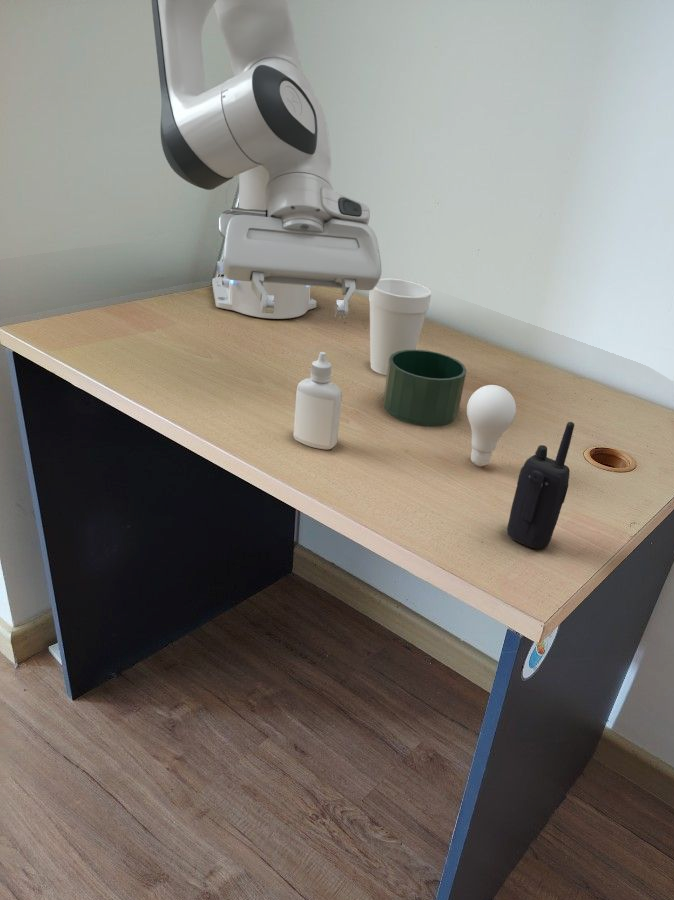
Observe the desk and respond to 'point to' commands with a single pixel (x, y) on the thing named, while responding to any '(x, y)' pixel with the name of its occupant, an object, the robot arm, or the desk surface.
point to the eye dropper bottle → (318, 407)
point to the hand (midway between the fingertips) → (305, 313)
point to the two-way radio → (540, 495)
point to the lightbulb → (489, 420)
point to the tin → (424, 387)
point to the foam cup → (395, 319)
